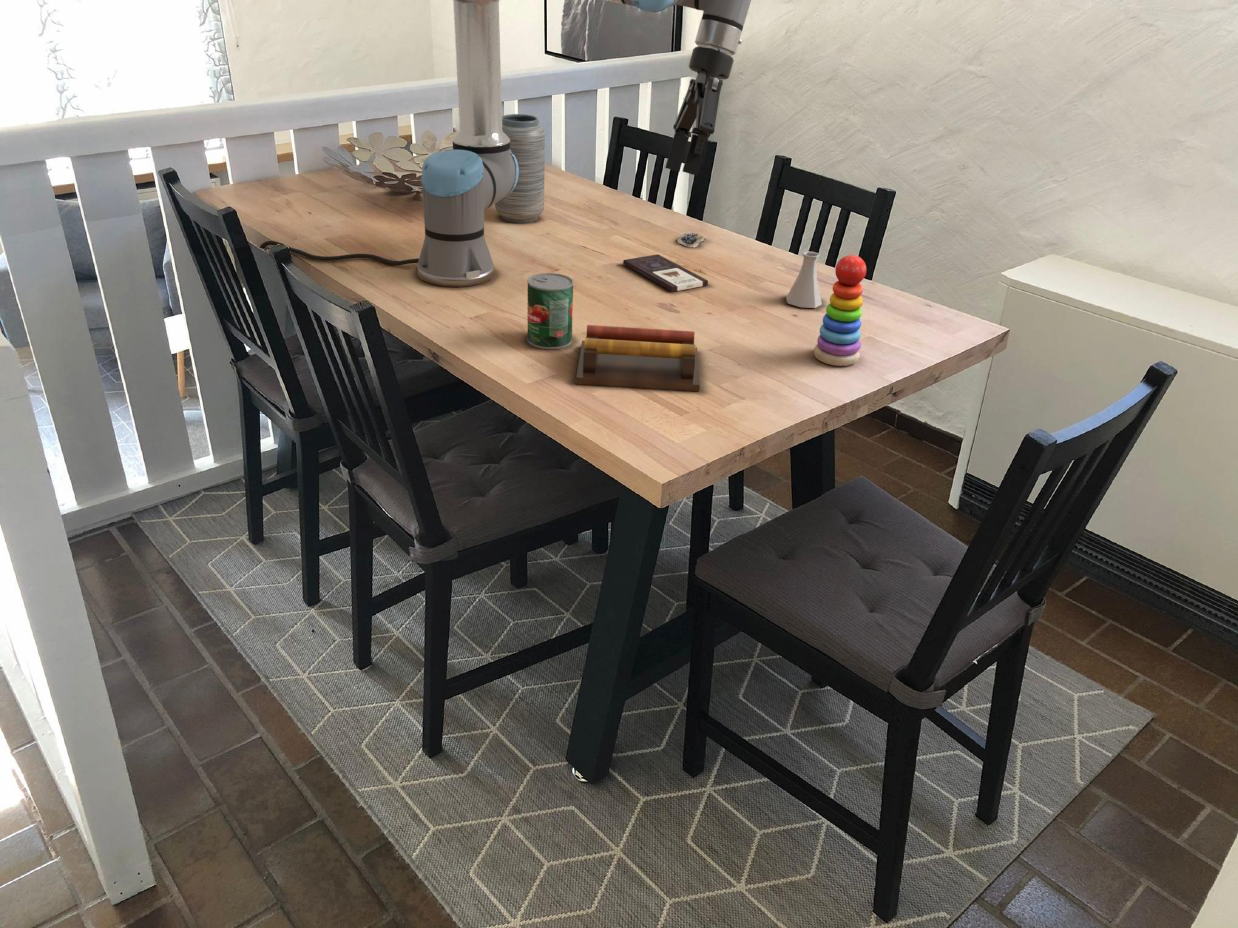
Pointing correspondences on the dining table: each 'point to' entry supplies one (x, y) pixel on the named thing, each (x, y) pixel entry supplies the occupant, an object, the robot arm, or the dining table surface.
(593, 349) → the rod stand
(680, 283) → the chocolate bar
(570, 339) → the canned tomato
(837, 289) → the stacking toy
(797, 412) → the dining table surface
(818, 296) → the flask
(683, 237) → the blueberries
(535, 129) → the vase
